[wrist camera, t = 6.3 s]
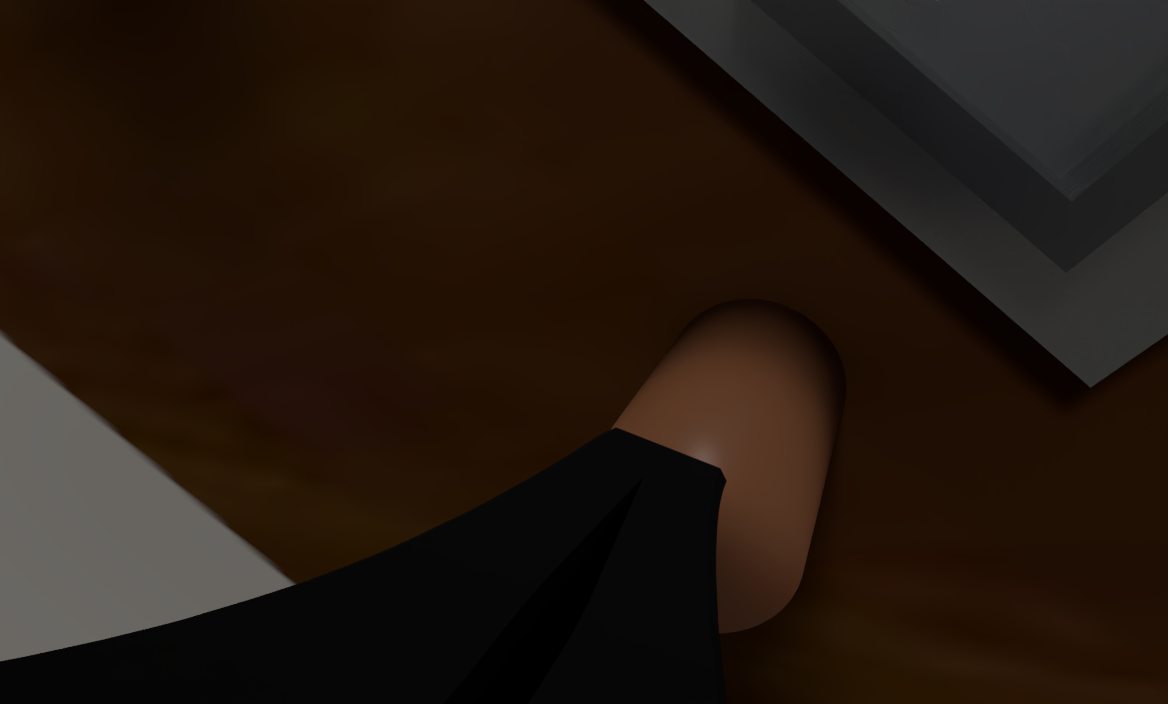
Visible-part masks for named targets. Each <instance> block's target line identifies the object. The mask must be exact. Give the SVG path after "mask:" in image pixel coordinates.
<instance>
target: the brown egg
mask: <svg viewBox="0 0 1168 704" xmlns="http://www.w3.org/2000/svg"><path fill="white" fill-rule="evenodd" d="M845 397H846V378H845V372H844V368H843V364H842V361H841V359H840V356H839V354H838V352H837V350H836V348H835V347H834V345H833V343H832V342H831V341H830V339H829V338H828V337H827V335H826V334H825V333H824V332H823V331H822V330H821V329H820V328H819V327H818V326H817V325H816V324H815V323H814V322H812V321H811V320H810V319H808V318H807V317H806V316H804V315H802V314H801V313H799V312H797V311H795V310H793V309H791V308H789V307H786V306H784V305H781V304H777V303H774V302H770V301H764V300H755V299H743V300H734V301H729V302H724V303H721V304H718V305H715V306H713V307H711V308H709V309H707V310H705V311H704V312H702V313H701V314H699V315H698V316H696V317H695V318H694V319H693V320H692V321H691V322H690V323H689V324H688V325H687V326H686V327H685V328H684V330H683V331H682V332H681V334H680V335H679V336H678V338H677V339H676V340H675V342H674V343H673V345H672V346H671V347H670V349H669V350H668V351H667V353H666V354H665V356H664V357H663V358H662V360H661V361H660V362H659V364H658V365H657V366H656V368H655V369H654V371H653V372H652V373H651V375H650V376H649V377H648V379H647V380H646V382H645V383H644V384H643V386H642V387H641V388H640V390H639V391H638V393H637V394H636V395H635V397H634V398H633V399H632V401H631V402H630V404H629V405H628V406H627V408H626V409H625V410H624V412H623V413H622V415H621V416H620V417H619V419H618V420H617V421H616V423H615V424H614V425H613V427H612V428H611V429H614V428H616V427H617V428H619V429H622V430H624V431H627V432H630V433H632V434H635V435H637V436H640V437H642V438H645V439H647V440H650V441H652V442H655V443H658V444H660V445H663V446H665V447H668V448H670V449H673V450H675V451H678V452H681V453H683V454H686V455H688V456H691V457H693V458H696V459H698V460H701V461H703V462H706V463H709V464H711V465H714V466H716V467H719V468H720V469H721V470H722V472H723V474H724V476H725V478H726V480H727V482H726V484H725V487H724V490H723V493H722V498H721V502H720V508H719V516H718V526H717V546H716V581H717V604H718V624H719V634H722V633H731V632H737V631H742V630H746V629H749V628H752V627H755V626H757V625H760V624H762V623H764V622H765V621H767V620H769V619H771V618H772V617H774V616H775V615H776V614H777V613H779V612H780V611H781V610H782V609H783V608H784V607H785V606H786V605H787V604H788V603H789V601H790V600H791V599H792V597H793V596H794V594H795V592H796V591H797V589H798V586H799V584H800V581H801V579H802V575H803V571H804V567H805V563H806V559H807V555H808V551H809V546H810V542H811V538H812V534H813V530H814V526H815V522H816V518H817V514H818V509H819V505H820V501H821V497H822V493H823V489H824V485H825V481H826V476H827V472H828V468H829V464H830V460H831V456H832V452H833V448H834V443H835V439H836V435H837V431H838V427H839V423H840V419H841V415H842V411H843V406H844V402H845Z"/></svg>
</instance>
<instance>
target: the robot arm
mask: <svg viewBox="0 0 1168 704" xmlns="http://www.w3.org/2000/svg"><path fill="white" fill-rule="evenodd" d="M726 482H727V480H726V478H725V476H724V474H723V472H722V470H721V469H720V468H719V467H716V466H714V465H711V464H709V463H706V462H703V461H701V460H698V459H696V458H693V457H691V456H688V455H686V454H683V453H681V452H678V451H675V450H673V449H670V448H668V447H665V446H663V445H660V444H658V443H655V442H652V441H650V440H647V439H645V438H642V437H640V436H637V435H635V434H632V433H630V432H627V431H624V430H622V429H619V428H617V427H616V428H614V429H611V430H609V431H606V432H604V433H603V434H601V435H599V436H598V437H596V438H595V439H593V440H592V441H590V442H589V443H587V444H585V445H584V446H582V447H581V448H579V449H577V450H576V451H574V452H573V453H571V454H569V455H568V456H566V457H565V458H563V459H561V460H560V461H558V462H556V463H555V464H553V465H551V466H550V467H548V468H546V469H545V470H543V471H541V472H540V473H538V474H536V475H535V476H533V477H531V478H529V479H527V480H526V481H524V482H522V483H520V484H518V485H517V486H515V487H513V488H511V489H509V490H507V491H506V492H504V493H502V494H500V495H498V496H497V497H495V498H493V499H491V500H489V501H488V502H486V503H484V504H482V505H480V506H478V507H476V508H474V509H472V510H470V511H468V512H466V513H464V514H462V515H460V516H458V517H456V518H454V519H452V520H450V521H447V522H445V523H443V524H441V525H439V526H437V527H435V528H433V529H431V530H429V531H427V532H424V533H422V534H420V535H418V536H416V537H414V538H412V539H410V540H408V541H405V542H403V543H401V544H399V545H396V546H394V547H392V548H389V549H387V550H385V551H382V552H380V553H378V554H375V555H373V556H370V557H368V558H365V559H363V560H361V561H358V562H356V563H353V564H351V565H348V566H345V567H343V568H340V569H337V570H335V571H332V572H329V573H327V574H324V575H321V576H319V577H316V578H313V579H311V580H308V581H305V582H302V583H299V584H296V585H293V586H290V587H287V588H284V589H281V590H278V591H275V592H272V593H269V594H266V595H263V596H260V597H257V598H253V599H250V600H247V601H243V602H240V603H237V604H233V605H230V606H227V607H224V608H220V609H217V610H213V611H210V612H207V613H203V614H200V615H197V616H194V617H190V618H187V619H183V620H180V621H176V622H172V623H169V624H165V625H161V626H157V627H153V628H149V629H145V630H141V631H136V632H132V633H129V634H124V635H120V636H116V637H112V638H108V639H104V640H99V641H95V642H91V643H86V644H81V645H77V646H72V647H68V648H63V649H58V650H54V651H49V652H45V653H40V654H35V655H31V656H26V657H21V658H16V659H11V660H6V661H0V704H727V698H726V690H725V682H724V674H723V665H722V657H721V647H720V636H719V624H718V604H717V581H716V546H717V526H718V516H719V508H720V502H721V498H722V493H723V490H724V487H725V484H726Z"/></svg>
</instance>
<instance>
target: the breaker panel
mask: <svg viewBox="0 0 1168 704" xmlns="http://www.w3.org/2000/svg"><path fill="white" fill-rule="evenodd" d="M644 1H645V2H646V3H648V4H649V5H650V6H651V7H652V8H653V9H655V10H656V11H657V12H658V13H659V14H660V15H661V16H663V17H664V18H665V19H666V20H667V21H668V22H670V23H671V24H672V25H673V26H674V27H675V28H676V29H678V30H679V31H680V32H681V33H682V34H683V35H685V36H686V37H687V38H688V39H689V40H690V41H691V42H693V43H694V44H695V45H696V46H697V47H698V48H699V49H701V50H702V51H703V52H704V53H705V54H706V55H708V56H709V57H710V58H711V59H712V60H713V61H714V62H716V63H717V64H718V65H719V66H720V67H721V68H723V69H724V70H725V71H726V72H727V73H728V74H729V75H731V76H732V77H733V78H734V79H735V80H736V81H738V82H739V83H740V84H741V85H742V86H743V87H744V88H746V89H747V90H748V91H749V92H750V93H751V94H753V95H754V96H755V97H756V98H757V99H758V100H759V101H761V102H762V103H763V104H764V105H765V106H766V107H768V108H769V109H770V110H771V111H772V112H773V113H774V114H776V115H777V116H778V117H779V118H780V119H781V120H783V121H784V122H785V123H786V124H787V125H788V126H789V127H791V128H792V129H793V130H794V131H795V132H796V133H798V134H799V135H800V136H801V137H802V138H803V139H804V140H806V141H807V142H808V143H809V144H810V145H811V146H813V147H814V148H815V149H816V150H817V151H818V152H819V153H821V154H822V155H823V156H824V157H825V158H826V159H828V160H829V161H830V162H831V163H832V164H833V165H834V166H836V167H837V168H838V169H839V170H840V171H841V172H843V173H844V174H845V175H846V176H847V177H848V178H849V179H851V180H852V181H853V182H854V183H855V184H856V185H858V186H859V187H860V188H861V189H862V190H863V191H864V192H866V193H867V194H868V195H869V196H870V197H871V198H873V199H874V200H875V201H876V202H877V203H878V204H879V205H881V206H882V207H883V208H884V209H885V210H886V211H887V212H889V213H890V214H891V215H892V216H893V217H894V218H896V219H897V220H898V221H899V222H900V223H901V224H902V225H904V226H905V227H906V228H907V229H908V230H909V231H911V232H912V233H913V234H914V235H915V236H916V237H917V238H919V239H920V240H921V241H922V242H923V243H924V244H926V245H927V246H928V247H929V248H930V249H931V250H932V251H934V252H935V253H936V254H937V255H938V256H939V257H941V258H942V259H943V260H944V261H945V262H946V263H947V264H949V265H950V266H951V267H952V268H953V269H954V270H956V271H957V272H958V273H959V274H960V275H961V276H962V277H964V278H965V279H966V280H967V281H968V282H969V283H971V284H972V285H973V286H974V287H975V288H976V289H977V290H979V291H980V292H981V293H982V294H983V295H984V296H986V297H987V298H988V299H989V300H990V301H991V302H992V303H994V304H995V305H996V306H997V307H998V308H999V309H1001V310H1002V311H1003V312H1004V313H1005V314H1006V315H1007V316H1009V317H1010V318H1011V319H1012V320H1013V321H1014V322H1016V323H1017V324H1018V325H1019V326H1020V327H1021V328H1022V329H1024V330H1025V331H1026V332H1027V333H1028V334H1029V335H1031V336H1032V337H1033V338H1034V339H1035V340H1036V341H1037V342H1039V343H1040V344H1041V345H1042V346H1043V347H1044V348H1046V349H1047V350H1048V351H1049V352H1050V353H1051V354H1052V355H1054V356H1055V357H1056V358H1057V359H1058V360H1059V361H1061V362H1062V363H1063V364H1064V365H1065V366H1066V367H1067V368H1069V369H1070V370H1071V371H1072V372H1073V373H1074V374H1075V375H1077V376H1078V377H1079V378H1080V379H1081V380H1082V381H1084V382H1085V383H1086V384H1087V385H1088V386H1089V387H1090V388H1091V387H1092V386H1094V385H1095V384H1096V383H1098V382H1099V381H1101V380H1102V379H1104V378H1105V377H1107V376H1108V375H1109V374H1111V373H1112V372H1114V371H1115V370H1117V369H1118V368H1120V367H1121V366H1122V365H1124V364H1125V363H1127V362H1128V361H1130V360H1131V359H1133V358H1134V357H1135V356H1137V355H1138V354H1140V353H1141V352H1143V351H1144V350H1146V349H1147V348H1148V347H1150V346H1151V345H1153V344H1154V343H1156V342H1157V341H1159V340H1160V339H1161V338H1163V337H1164V336H1166V335H1167V334H1168V0H644Z"/></svg>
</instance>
